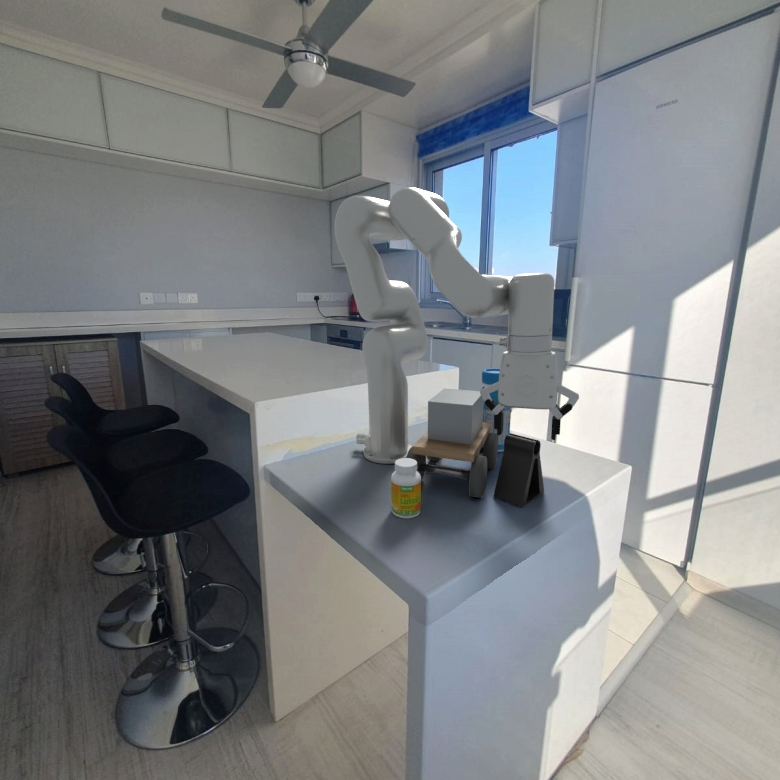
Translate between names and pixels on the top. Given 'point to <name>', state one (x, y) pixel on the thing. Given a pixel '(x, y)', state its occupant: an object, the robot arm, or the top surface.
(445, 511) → the top surface
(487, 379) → the beverage bottle
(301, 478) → the top surface
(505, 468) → the phone stand
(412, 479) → the supplement bottle
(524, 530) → the top surface
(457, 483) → the top surface
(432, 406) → the trolley
